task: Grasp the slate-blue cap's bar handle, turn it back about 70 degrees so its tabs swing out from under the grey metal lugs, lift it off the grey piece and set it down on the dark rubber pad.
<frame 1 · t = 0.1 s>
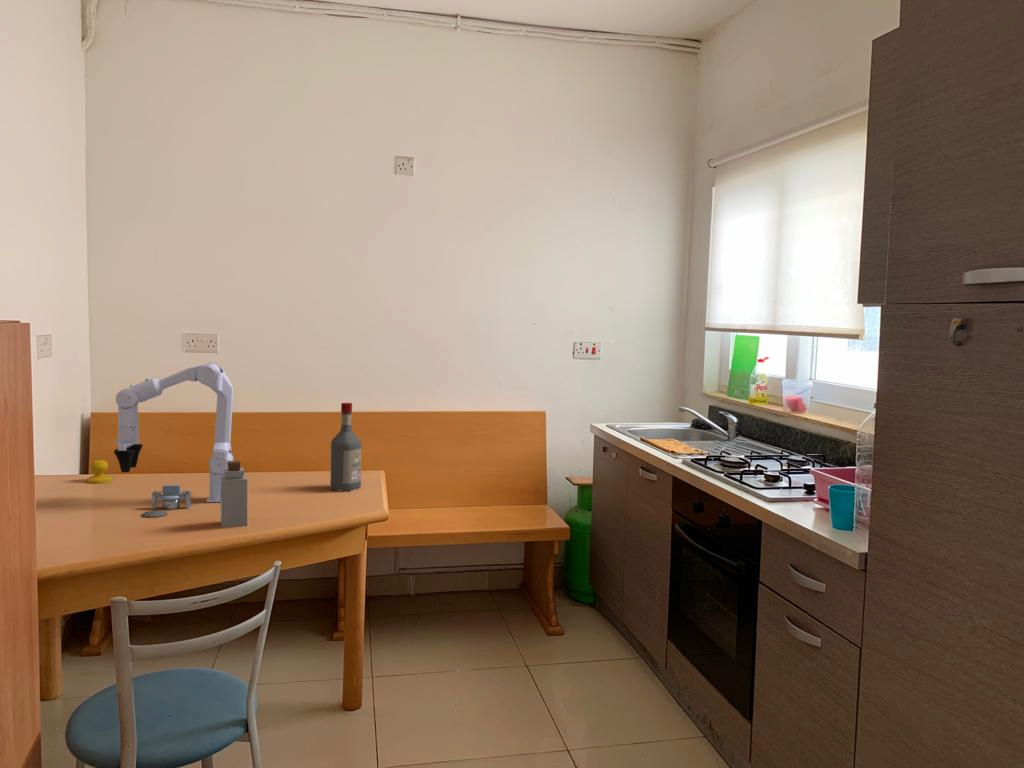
hand: (128, 469, 248), 10 cm above the table, fingers open, 7 cm apart
perfume bottle: (233, 524, 226), on the table
liquor: (345, 489, 276), on the table
doorknob: (99, 481, 275), on the table
pad: (154, 514, 233), on the table
cap: (171, 498, 242), point 3 cm above the table, touching grey piece
grey piece: (171, 507, 242), on the table
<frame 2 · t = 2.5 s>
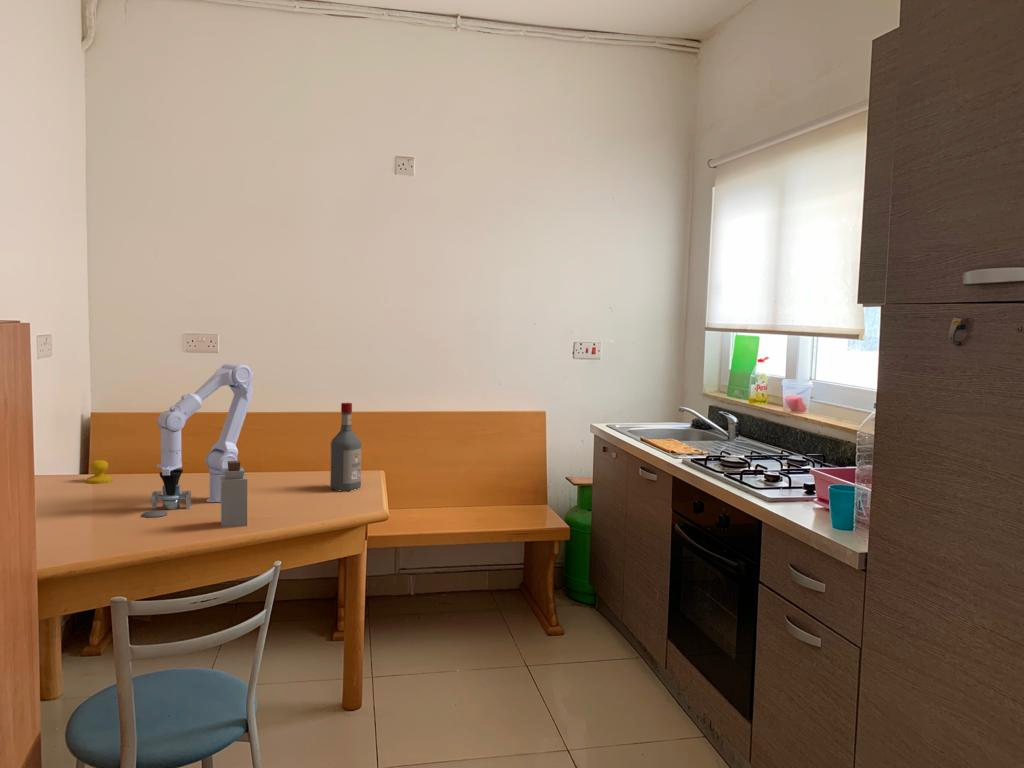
hand: (171, 494, 241), 4 cm above the table, fingers closed on cap, 2 cm apart
cap: (171, 498, 242), point 3 cm above the table, touching gripper, grey piece
everything else where it was.
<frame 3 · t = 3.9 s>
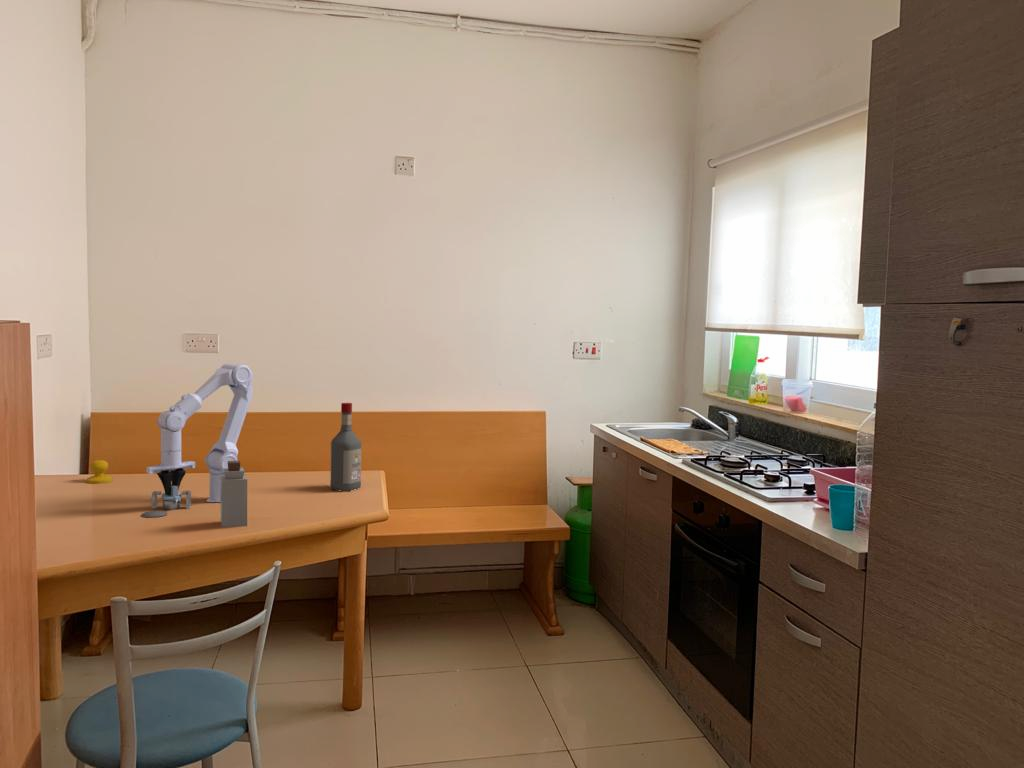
hand: (171, 494, 241), 4 cm above the table, fingers closed on cap, 2 cm apart
cap: (171, 498, 242), point 3 cm above the table, touching gripper, grey piece
everything else where it was.
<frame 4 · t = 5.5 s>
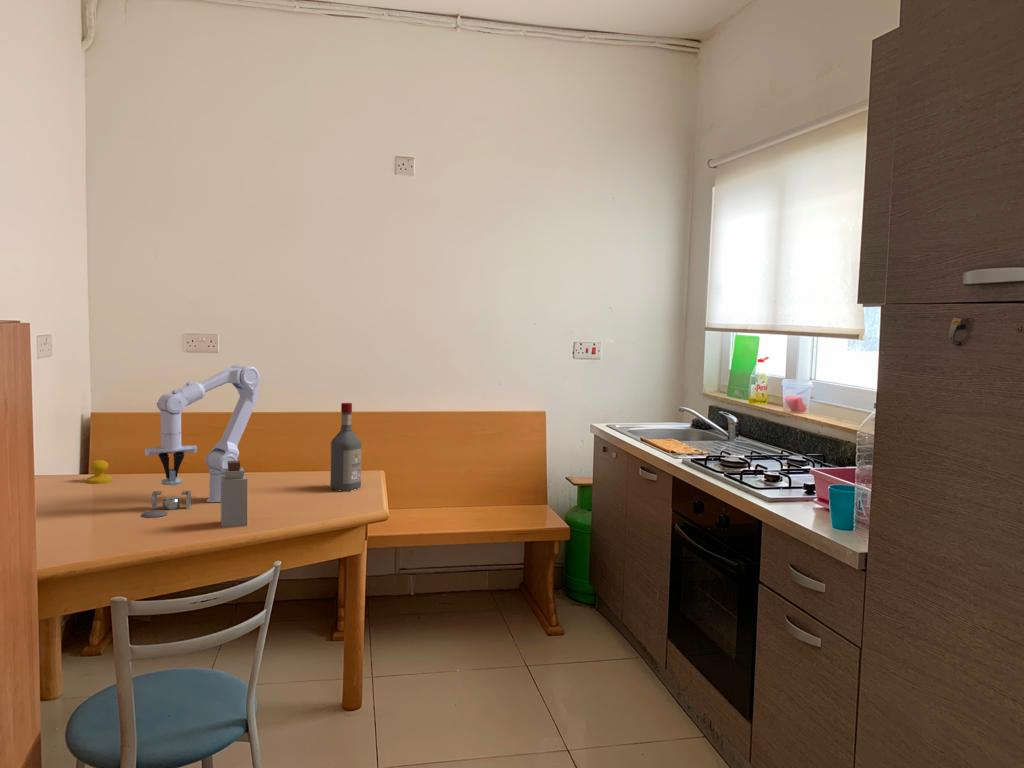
hand: (171, 477, 241), 10 cm above the table, fingers closed on cap
cap: (171, 483, 241), point 8 cm above the table, touching gripper
everything else where it was.
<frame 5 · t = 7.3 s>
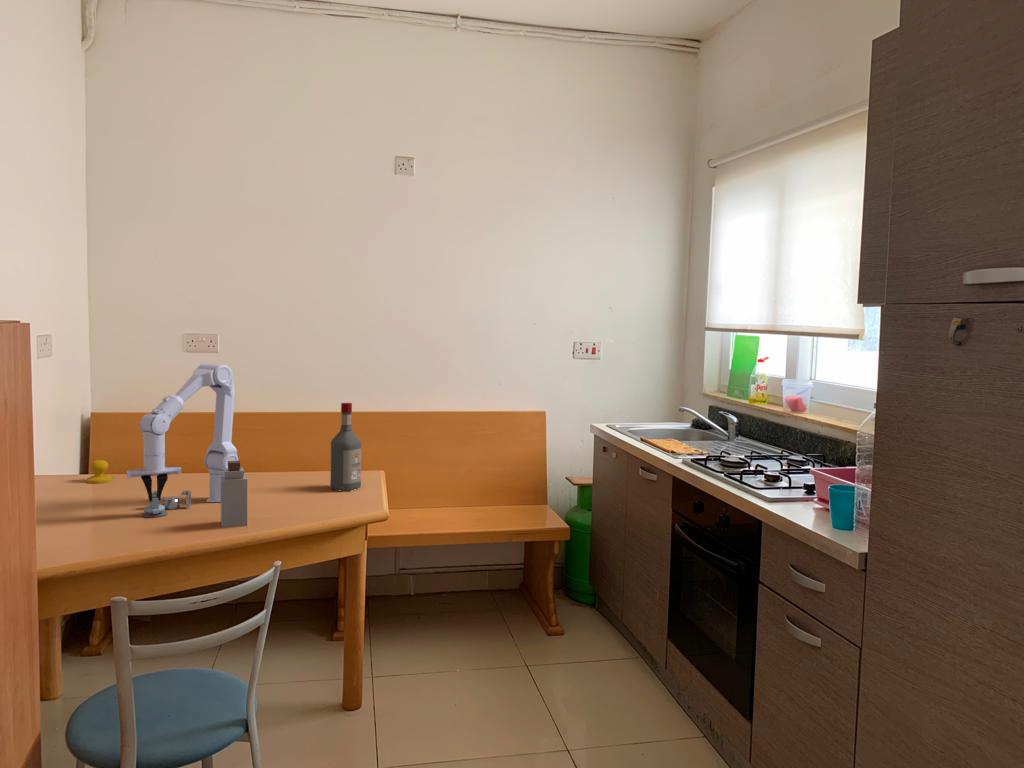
hand: (154, 499, 233), 4 cm above the table, fingers closed on cap, 2 cm apart
cap: (154, 510, 233), point 1 cm above the table, touching gripper
everything else where it was.
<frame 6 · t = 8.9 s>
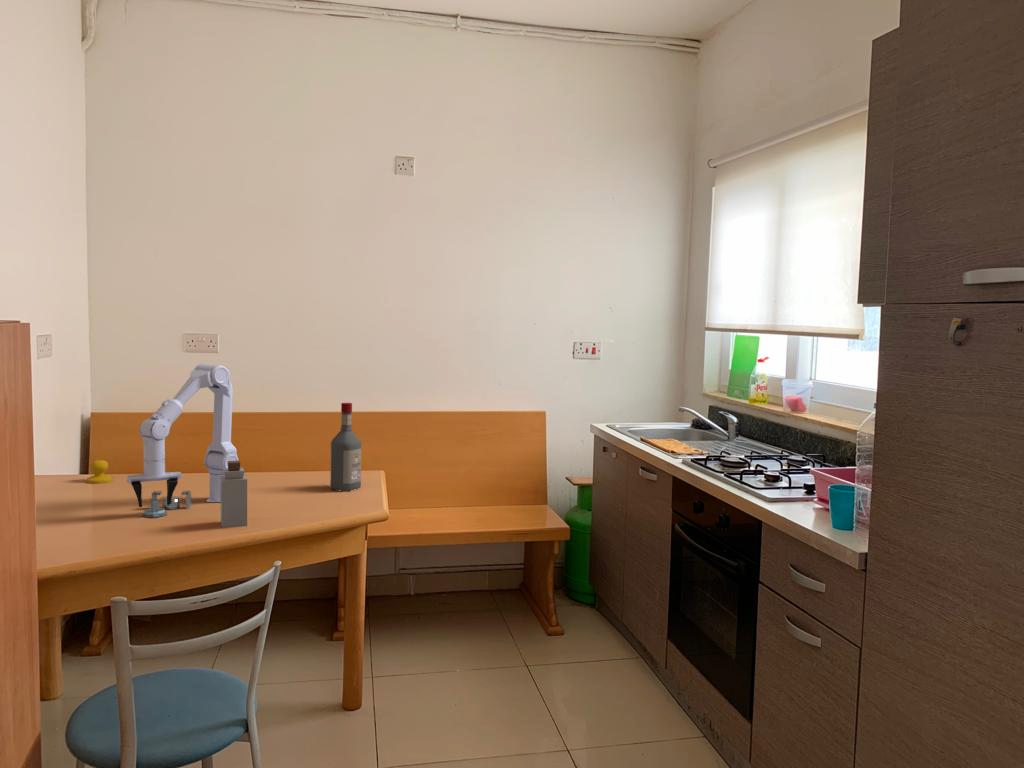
hand: (154, 505, 233), 3 cm above the table, fingers open, 7 cm apart
cap: (154, 513, 233), resting on pad
everything else where it was.
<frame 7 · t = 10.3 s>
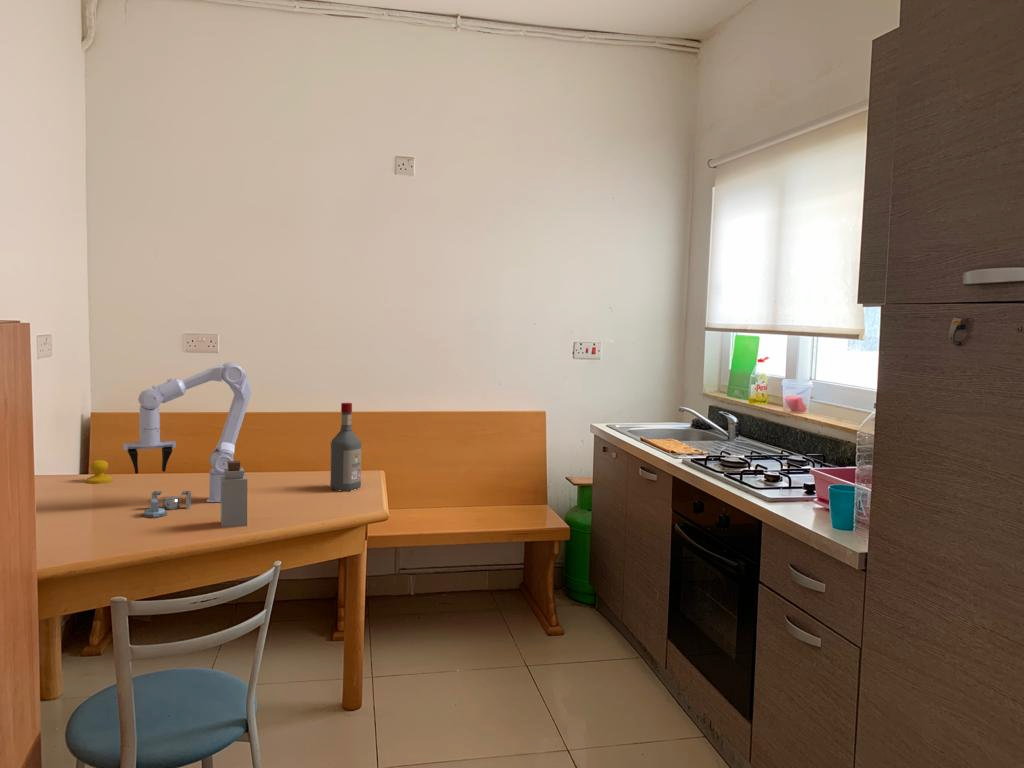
hand: (150, 472, 243), 10 cm above the table, fingers open, 7 cm apart
nothing on the table moved.
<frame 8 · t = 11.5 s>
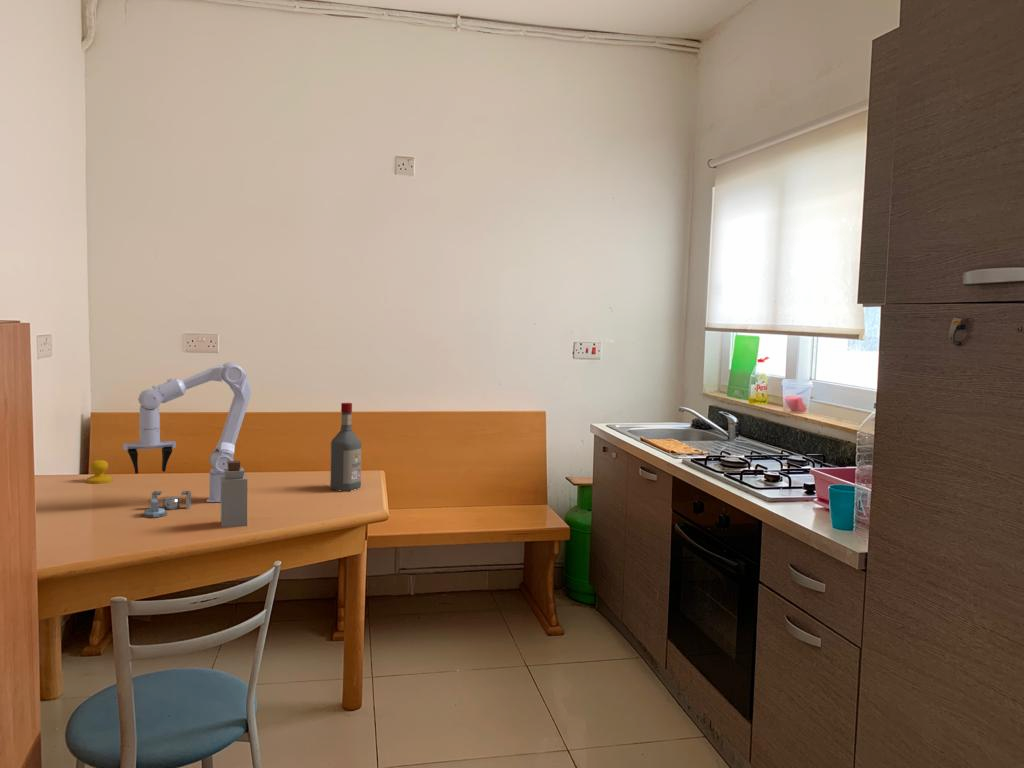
hand: (150, 472, 243), 10 cm above the table, fingers open, 7 cm apart
nothing on the table moved.
at the end: cap inside the target area on the pad (0.0 cm from its centre), point 0.3 cm above the pad's base; cap tilted 0°; the gripper is holding nothing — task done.
